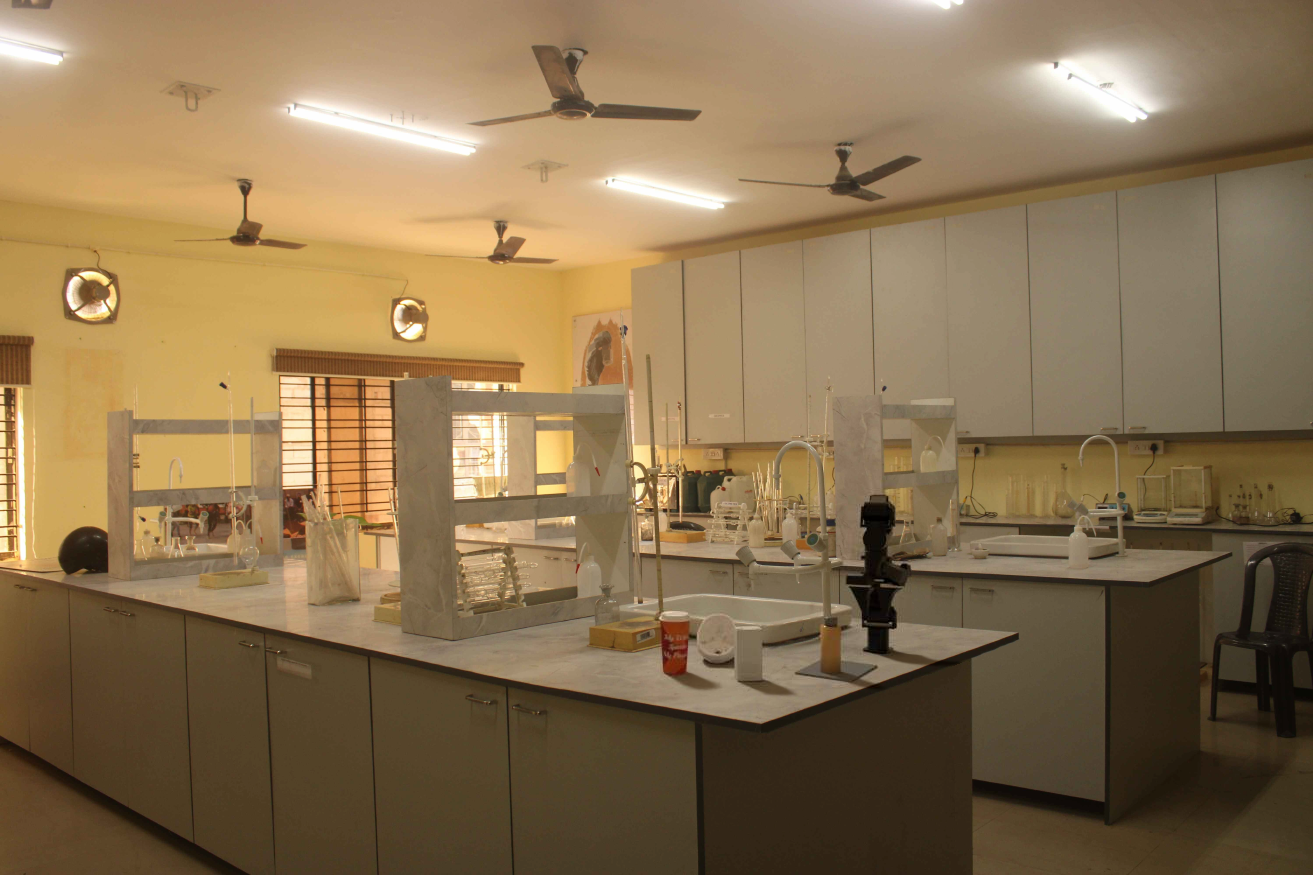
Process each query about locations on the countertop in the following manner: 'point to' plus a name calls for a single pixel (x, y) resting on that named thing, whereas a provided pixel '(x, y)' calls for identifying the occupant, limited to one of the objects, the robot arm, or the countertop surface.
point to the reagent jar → (830, 646)
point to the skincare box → (748, 653)
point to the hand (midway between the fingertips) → (875, 615)
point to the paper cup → (674, 641)
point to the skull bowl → (716, 638)
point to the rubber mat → (848, 673)
